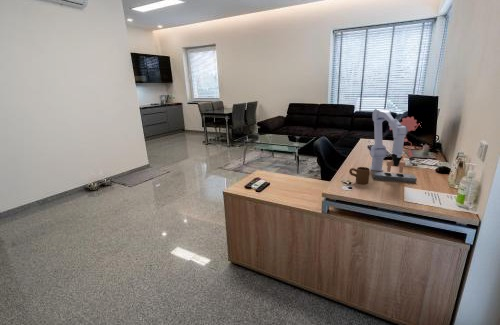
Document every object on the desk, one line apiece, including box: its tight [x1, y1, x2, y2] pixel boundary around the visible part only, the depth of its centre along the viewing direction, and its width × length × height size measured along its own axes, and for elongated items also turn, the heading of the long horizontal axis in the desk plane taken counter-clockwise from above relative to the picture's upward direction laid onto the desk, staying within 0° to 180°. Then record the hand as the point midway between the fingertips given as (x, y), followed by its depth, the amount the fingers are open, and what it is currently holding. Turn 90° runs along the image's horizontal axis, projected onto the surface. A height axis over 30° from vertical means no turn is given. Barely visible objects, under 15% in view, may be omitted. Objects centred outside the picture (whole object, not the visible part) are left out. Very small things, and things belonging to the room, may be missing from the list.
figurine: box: [389, 116, 421, 157], centre depth 209 cm, size 15×26×35 cm, turn 69°
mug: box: [348, 166, 371, 185], centre depth 161 cm, size 12×8×9 cm, turn 70°
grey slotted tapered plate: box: [372, 171, 418, 184], centre depth 165 cm, size 8×24×3 cm, turn 70°
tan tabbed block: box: [386, 159, 406, 174], centre depth 163 cm, size 3×10×7 cm, turn 70°
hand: (395, 165), depth 163 cm, fingers closed on tan tabbed block, 3 cm apart
